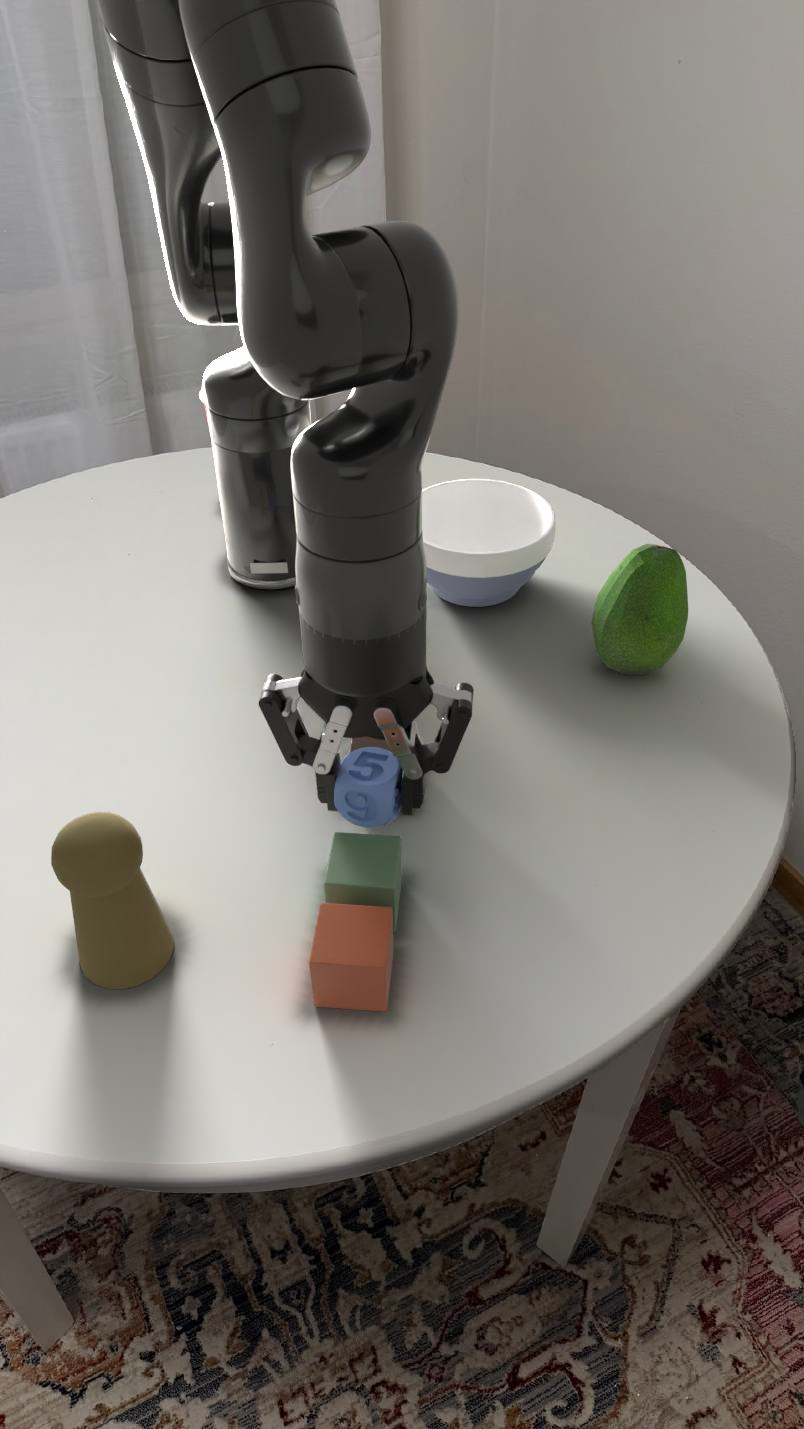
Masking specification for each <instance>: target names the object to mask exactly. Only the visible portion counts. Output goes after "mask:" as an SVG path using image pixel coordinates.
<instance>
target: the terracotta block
mask: <svg viewBox="0 0 804 1429" xmlns="http://www.w3.org/2000/svg"><path fill="white" fill-rule="evenodd" d="M394 948H395V947H394V932H393V911H392V907H378V906H362V905H346V904H330V903H326V902H321V903H320V904H319V907H318V914H317V918H316V924H315V928H314V934H313V939H312V944H311V950H310V955H309V960H308V966H309V975H310V984H311V990H312V991H311V992H312V1000H313V1006H314V1007H315V1008H316V1007H318V1008H328V1009H329V1008H330V1009H343V1010H344V1009H346V1010H357V1011H358V1010H360V1011H370V1012H371V1011H372V1012H384V1013H385V1012H387V1011H388V1005H389V997H390V996H389V995H390V987H391V979H392V978H391V977H392V971H393V970H392V969H393V963H394V962H393V961H394V953H395V952H394Z"/></svg>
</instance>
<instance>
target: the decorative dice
mask: <svg viewBox="0 0 804 1429" xmlns="http://www.w3.org/2000/svg"><path fill="white" fill-rule="evenodd" d="M402 773H403V770H402V767H401V765H400V763H399V761H398V758H397V757H394V756H393V754H392V753H391V752H389V751H387V750H385V749H382V748H378V747H364V748H360V749H357V750H354V751H352V752H350V753H349V752H348V754H346V755H344V757H343V758H342V760H341V761H340V767H339V770H338V773H337V777H336V782H335V789H334V803H335V807H336V809H337V810H338V811H337V812H338V813H339V814H340V815H341V816H342V817H343V818H344V819H345V820H346V821H348V822H349V823H351V824H353V825H355V826H358V827H360V828H361V827H362V828H369V829H371V828H374V829H375V828H380V827H384V826H386V825H389V824H390V823H392V822H394V821H395V820H396V819H397V818H398V817H399V816H398V815H399V814H400V811H401V810H402V807H401V806H402Z"/></svg>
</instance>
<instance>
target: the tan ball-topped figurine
mask: <svg viewBox="0 0 804 1429" xmlns="http://www.w3.org/2000/svg"><path fill="white" fill-rule="evenodd" d="M143 848H144V847H143V841H142V838H141V836H140V834H139V832H138V830H137V828H136V827H135V826H134V824H133V823H131V822H130V820H128V819H126V818H125V817H123V816H122V815H119V814H116V813H113V812H110V811H96V812H95V811H94V812H90V813H89V812H88V813H85V814H83V815H80V816H77V817H75V818H74V819H72V820H70V821H69V822H68V823H66V824H65V825H64V826H63V827H62V828H61V829H60V830H59V832H58V833H57V835H56V837H55V839H54V841H53V843H52V845H51V851H50V852H51V857H50V860H51V862H50V865H51V867H52V870H53V872H54V874H55V877H56V879H57V880H58V882H59V883H60V884H61V885H62V887H64V888H65V889H67V890H68V891H69V897H70V902H71V903H70V904H71V909H72V910H71V911H72V918H73V924H74V934H75V938H76V939H75V940H76V947H77V954H78V961H79V962H78V963H79V966H80V969H81V971H82V973H83V975H84V977H85V978H86V979H88V980H89V981H90V982H91V983H92V984H93V985H96V986H98V987H101V988H104V989H106V990H107V989H108V990H125V989H130V988H135V987H138V986H140V985H142V984H144V983H146V982H149V981H151V980H152V979H153V978H154V977H156V976H157V975H158V974H160V972H162V971H163V970H164V968H165V967H166V966H167V964H168V963H169V961H170V960H171V958H172V954H173V951H174V948H175V940H174V939H175V938H174V934H173V931H172V929H171V927H170V926H169V923H168V921H167V919H166V917H165V915H164V913H163V911H162V909H161V907H160V905H159V903H158V901H157V899H156V897H155V894H154V893H153V891H152V888H151V887H150V885H149V883H148V881H147V879H146V877H145V875H144V872H143V871H142V869H141V866H142V863H143V859H144V858H143V857H144V850H143Z"/></svg>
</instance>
